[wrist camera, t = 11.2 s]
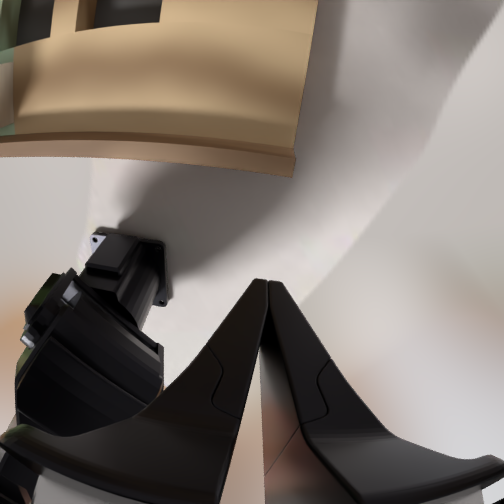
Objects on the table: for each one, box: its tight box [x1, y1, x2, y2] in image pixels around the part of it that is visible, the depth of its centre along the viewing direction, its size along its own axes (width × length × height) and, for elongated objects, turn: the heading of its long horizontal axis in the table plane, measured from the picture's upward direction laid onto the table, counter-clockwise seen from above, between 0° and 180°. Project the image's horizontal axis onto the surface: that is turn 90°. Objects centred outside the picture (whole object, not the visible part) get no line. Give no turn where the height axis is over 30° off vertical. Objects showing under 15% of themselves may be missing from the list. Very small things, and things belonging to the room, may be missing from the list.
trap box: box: [0, 0, 318, 178], centre depth 13 cm, size 14×25×4 cm, turn 83°
